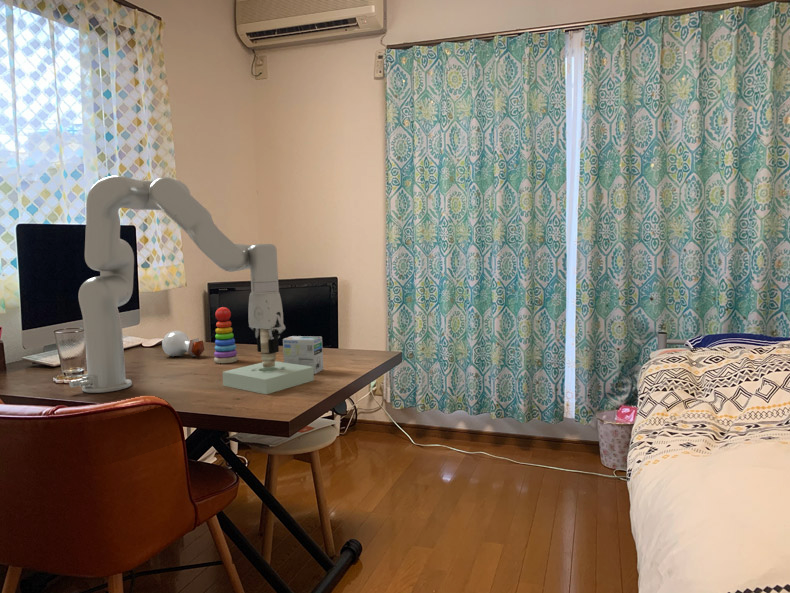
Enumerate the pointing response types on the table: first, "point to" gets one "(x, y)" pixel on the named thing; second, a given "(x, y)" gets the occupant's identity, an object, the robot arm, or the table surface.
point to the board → (268, 377)
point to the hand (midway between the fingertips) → (268, 351)
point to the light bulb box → (304, 351)
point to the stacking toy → (224, 338)
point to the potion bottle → (181, 344)
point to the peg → (266, 349)
